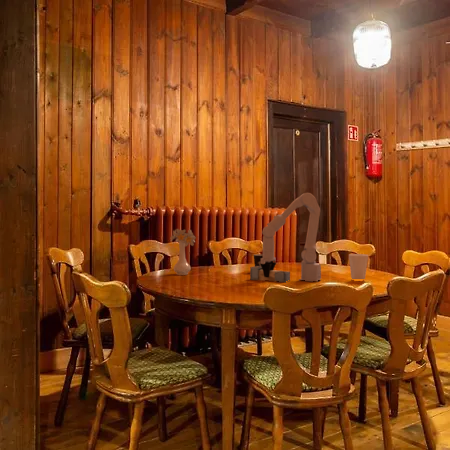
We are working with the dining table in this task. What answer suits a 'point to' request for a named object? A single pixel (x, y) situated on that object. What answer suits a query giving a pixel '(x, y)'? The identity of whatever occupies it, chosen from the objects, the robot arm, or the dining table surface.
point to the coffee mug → (258, 259)
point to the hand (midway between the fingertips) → (268, 276)
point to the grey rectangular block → (254, 272)
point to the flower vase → (182, 250)
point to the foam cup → (358, 265)
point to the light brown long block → (271, 275)
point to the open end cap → (282, 276)
